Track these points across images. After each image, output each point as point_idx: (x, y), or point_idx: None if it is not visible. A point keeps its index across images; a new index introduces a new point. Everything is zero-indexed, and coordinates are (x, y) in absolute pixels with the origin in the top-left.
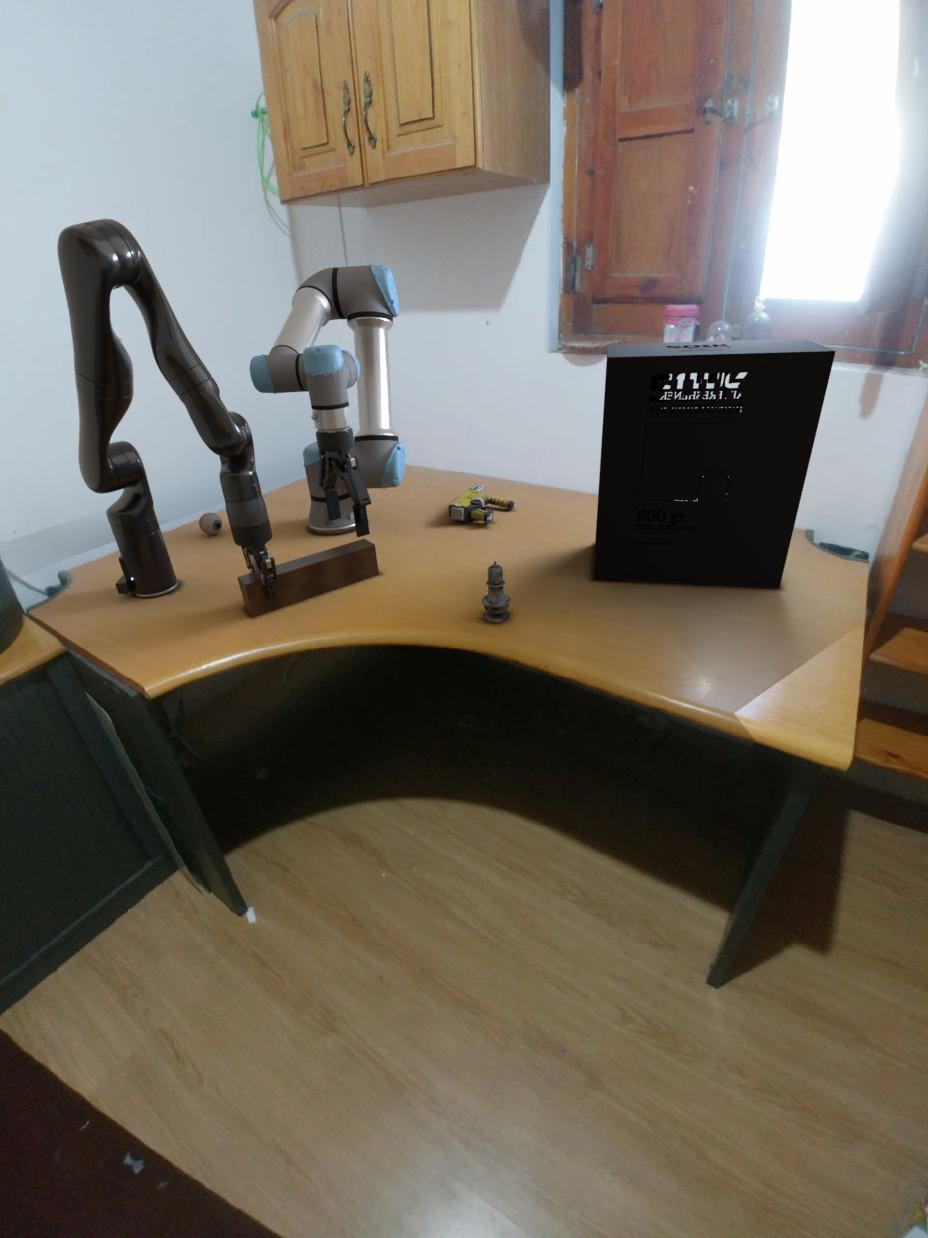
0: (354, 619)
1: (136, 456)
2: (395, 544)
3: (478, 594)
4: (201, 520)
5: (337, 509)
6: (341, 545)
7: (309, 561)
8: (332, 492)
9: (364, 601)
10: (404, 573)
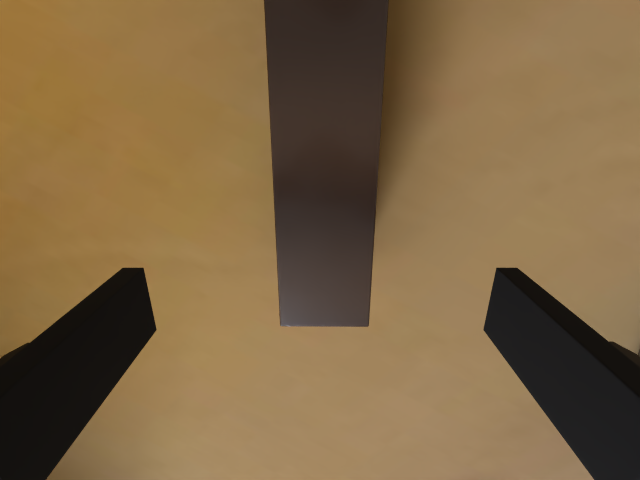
0: (42, 60)
1: None
2: (438, 391)
3: None
4: None
5: (517, 355)
6: (372, 225)
7: (306, 7)
8: (630, 470)
9: (146, 148)
10: (249, 320)
